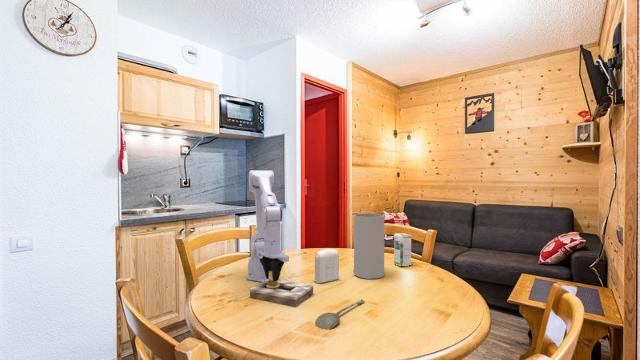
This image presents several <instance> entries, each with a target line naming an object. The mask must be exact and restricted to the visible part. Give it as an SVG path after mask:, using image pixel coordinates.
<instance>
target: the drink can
mask: <svg viewBox="0 0 640 360" xmlns="http://www.w3.org/2000/svg"><path fill="white" fill-rule="evenodd" d="M393 235H394V236H393V247H394V248H393V265H394V264H397V265H399V266H405V265H411V266H412V234H407V233H404V232H396V233H394V234H393ZM397 265H396V266H397ZM399 266H398V267H399Z"/></svg>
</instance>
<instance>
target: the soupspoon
mask: <svg viewBox="0 0 640 360" xmlns="http://www.w3.org/2000/svg"><path fill="white" fill-rule="evenodd" d="M362 304H363V305H364V304H365V300H364V299H362V298H361V299H359V301H356V302H354V303H351V304H349V305H348V306H345V307H344V308H342V309H340V310H339V311H337V312H324V313H322V314H320V315H319V316H318V317H317V318H316V319H315V322H314V325H315V326H316V327H317V328H318V329H322V330H328V331H329V330H332V329H333V328H335V327H336V326H337V325H338V323H339V322H340V319H341V318H340V315H341V314H342V312H344V311H346V310H348V309H350V308H352V307H354V306H356V305H362Z"/></svg>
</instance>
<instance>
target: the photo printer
mask: <svg viewBox="0 0 640 360" xmlns="http://www.w3.org/2000/svg"><path fill="white" fill-rule="evenodd" d="M339 279H340V253H339V251H338V250H337V249H333V248H325V249H321V250H319V251H317V252H316V253H315V255H314V281H315V283H317V284H322V283H326V282H332V281H337V280H339Z"/></svg>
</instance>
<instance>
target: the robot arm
mask: <svg viewBox="0 0 640 360" xmlns="http://www.w3.org/2000/svg"><path fill="white" fill-rule="evenodd" d="M274 174H275V173H274V171H273V170H253V169H251V170H249V172H248V189H249V192H250V193H253V196H254V202H255V220H256V233H254V234H253V235H252V236H251V238H250V245H249V247H250V249H249V250H250V255H251V256H250V257H249V258H248V262H247V277H246V280H250V281H253V282H254V281H255V282H260V283H262V282H264V281H266V280H268V279H269V276H268V270H270V269H272V278H273V281H276V280H280V275H281V271H282V269H283V266H284V265H285V263H287V262H290V255H288V254H286V253H283V251H282V250H281V247H282V246H281V244H282V243H281V238H282V237H281V222H283V216H284V215H283V214H284V213H283V208H282V205H280V203H278V200H277V196H276V194H275V192H272V189H273V185H274V183H275V175H274Z"/></svg>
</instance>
